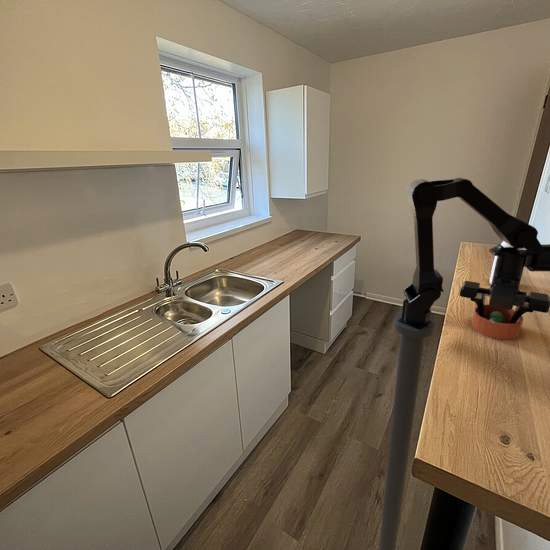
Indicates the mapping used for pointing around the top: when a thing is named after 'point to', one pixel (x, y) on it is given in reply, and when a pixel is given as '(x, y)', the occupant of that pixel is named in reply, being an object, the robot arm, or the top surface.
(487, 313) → the bowl
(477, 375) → the top surface
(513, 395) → the top surface
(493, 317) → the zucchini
